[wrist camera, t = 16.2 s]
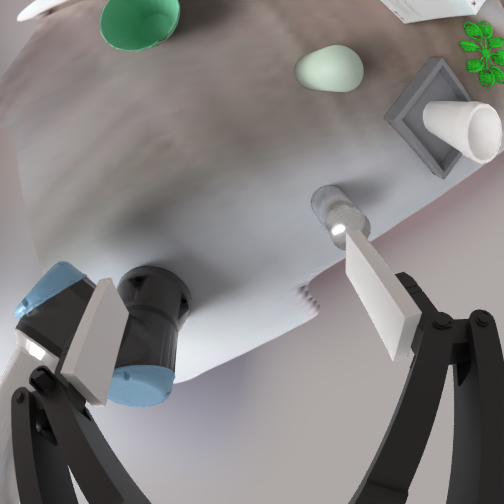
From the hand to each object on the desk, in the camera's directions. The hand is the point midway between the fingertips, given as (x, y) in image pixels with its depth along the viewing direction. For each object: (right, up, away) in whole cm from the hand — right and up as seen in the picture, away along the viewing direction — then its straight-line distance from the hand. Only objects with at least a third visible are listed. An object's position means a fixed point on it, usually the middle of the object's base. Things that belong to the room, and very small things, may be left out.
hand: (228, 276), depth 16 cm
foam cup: (+34, +25, +26) cm, 50 cm away
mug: (-12, +36, +15) cm, 41 cm away
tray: (+34, +26, +26) cm, 50 cm away
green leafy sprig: (+46, +41, +19) cm, 64 cm away
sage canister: (+10, +28, +22) cm, 37 cm away
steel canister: (+14, +10, +34) cm, 38 cm away
